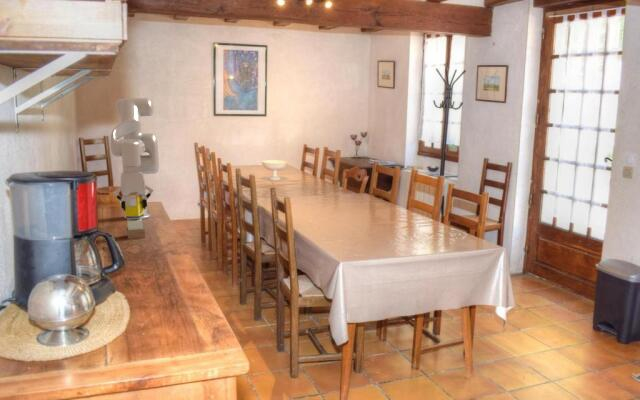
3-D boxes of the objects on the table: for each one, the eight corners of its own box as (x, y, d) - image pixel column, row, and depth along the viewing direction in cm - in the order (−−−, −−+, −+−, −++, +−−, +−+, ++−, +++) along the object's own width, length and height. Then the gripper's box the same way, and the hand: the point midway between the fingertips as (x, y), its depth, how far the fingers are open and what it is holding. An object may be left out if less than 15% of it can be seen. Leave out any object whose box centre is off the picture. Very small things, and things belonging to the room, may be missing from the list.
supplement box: (144, 215, 258) (142, 191, 256) (138, 218, 252) (137, 193, 250) (131, 215, 258) (129, 191, 256) (125, 218, 252) (123, 193, 250)
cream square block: (127, 227, 257) (127, 218, 257) (141, 226, 260) (141, 217, 259) (128, 230, 252) (127, 221, 251) (142, 229, 254) (142, 220, 253)
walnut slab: (127, 236, 258) (126, 227, 258) (143, 234, 261) (143, 225, 260) (128, 239, 252) (127, 230, 251) (145, 238, 255) (144, 229, 254)
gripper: (151, 167, 258) (153, 206, 261) (110, 169, 251) (112, 209, 255) (153, 169, 251) (156, 209, 255) (111, 171, 245) (114, 212, 248)
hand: (134, 209), depth 255 cm, fingers closed on supplement box, 8 cm apart
